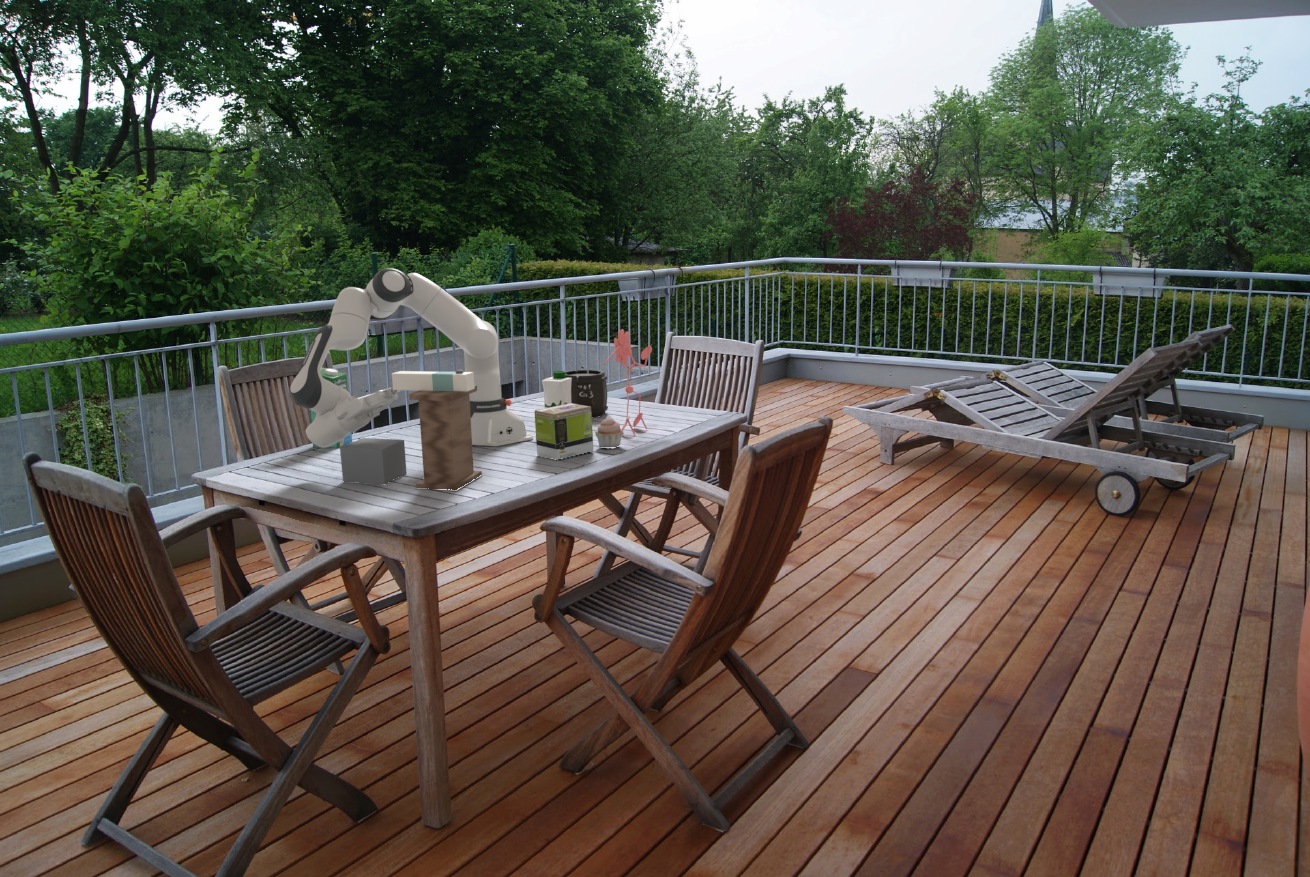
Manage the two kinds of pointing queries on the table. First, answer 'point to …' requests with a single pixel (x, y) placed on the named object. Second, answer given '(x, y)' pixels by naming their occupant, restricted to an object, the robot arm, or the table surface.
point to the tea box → (563, 431)
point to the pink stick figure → (622, 355)
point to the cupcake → (609, 433)
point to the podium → (373, 460)
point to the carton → (433, 380)
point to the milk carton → (341, 381)
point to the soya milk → (557, 390)
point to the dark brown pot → (589, 390)
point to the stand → (446, 439)
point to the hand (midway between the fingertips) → (391, 389)
